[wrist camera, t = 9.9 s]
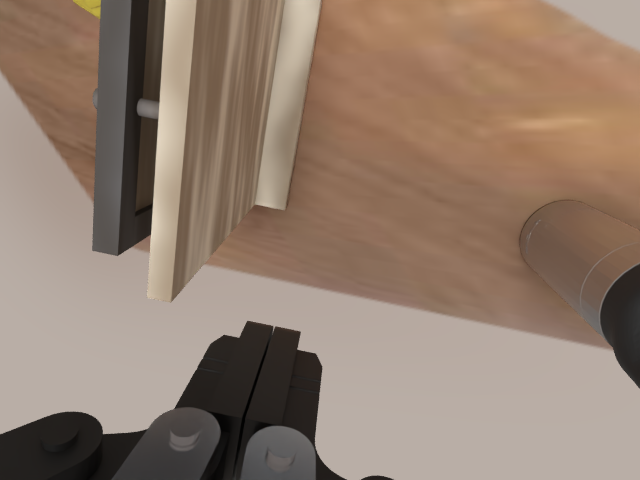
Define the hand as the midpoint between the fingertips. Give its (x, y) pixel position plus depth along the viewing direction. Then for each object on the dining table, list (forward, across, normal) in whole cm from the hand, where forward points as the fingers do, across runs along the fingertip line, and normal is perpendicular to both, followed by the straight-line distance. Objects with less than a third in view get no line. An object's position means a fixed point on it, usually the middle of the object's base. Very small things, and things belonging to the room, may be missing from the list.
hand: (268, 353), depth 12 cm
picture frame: (+28, +12, -4) cm, 31 cm away
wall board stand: (+39, +10, -4) cm, 40 cm away
